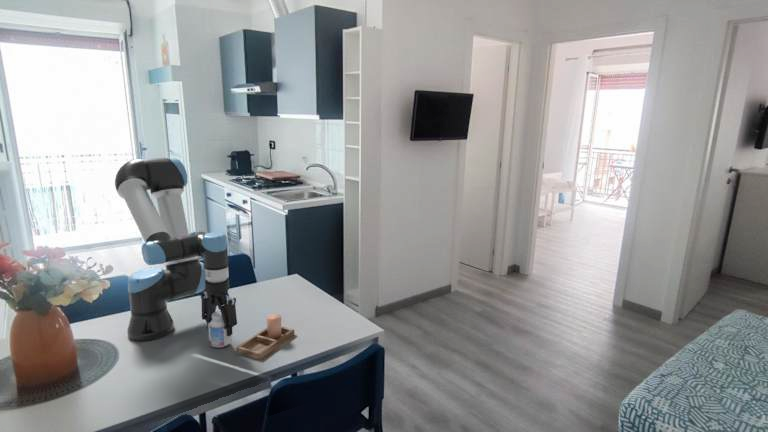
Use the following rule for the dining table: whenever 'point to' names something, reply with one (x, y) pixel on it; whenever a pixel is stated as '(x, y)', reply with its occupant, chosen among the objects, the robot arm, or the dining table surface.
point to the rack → (264, 344)
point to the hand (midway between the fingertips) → (220, 341)
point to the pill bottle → (217, 330)
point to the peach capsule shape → (274, 326)
